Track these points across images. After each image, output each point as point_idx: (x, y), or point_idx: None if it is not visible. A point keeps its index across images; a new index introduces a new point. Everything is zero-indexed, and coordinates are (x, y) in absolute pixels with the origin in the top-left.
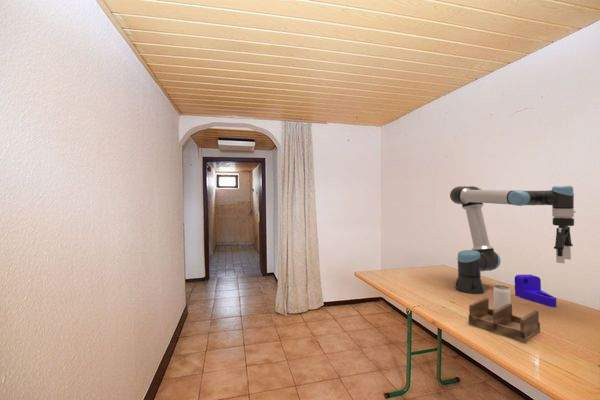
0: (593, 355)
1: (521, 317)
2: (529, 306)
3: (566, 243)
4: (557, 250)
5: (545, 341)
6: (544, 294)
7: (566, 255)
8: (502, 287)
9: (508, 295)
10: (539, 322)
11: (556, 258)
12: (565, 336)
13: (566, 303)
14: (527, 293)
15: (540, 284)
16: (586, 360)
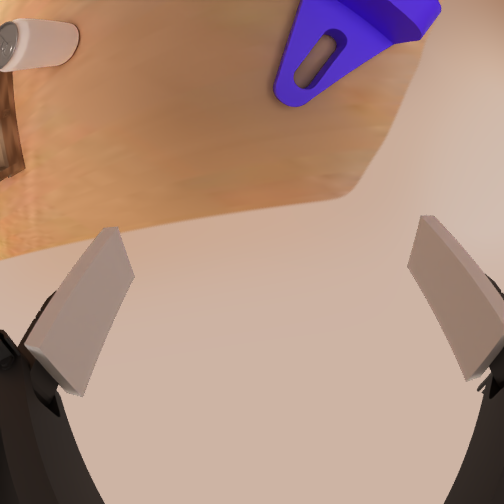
0: (26, 252)
1: (2, 139)
2: (198, 43)
3: (498, 396)
4: (40, 337)
5: (2, 195)
6: (334, 59)
7: (432, 266)
8: (3, 47)
9: (14, 70)
10: (10, 176)
11: (84, 254)
12: (45, 205)
13: (370, 123)
14: (300, 5)
15: (406, 40)
16: (8, 250)
